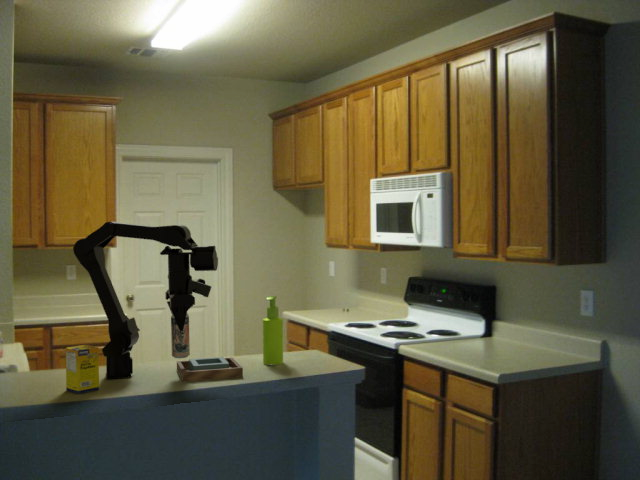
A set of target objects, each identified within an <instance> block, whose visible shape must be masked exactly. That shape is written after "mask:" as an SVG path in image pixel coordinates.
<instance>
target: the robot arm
mask: <svg viewBox="0 0 640 480" xmlns="http://www.w3.org/2000/svg"><path fill="white" fill-rule="evenodd" d="M116 237H118V238H119V237H122V238H130V239H139V240H150V241H155V242H158V243H161V244H164V245H165V247H164V248H163V250H162V251H160V252H159V255H161V256H167V271H168V274H167V279H168V289H167V290H166V291H165V293H164V295H165V300H166V303H167V307H168V308H169V310H170V312H171V313H170V314H172V313H173V316H174V318H175V321H176V323H177V326H178V328H179V330H183V329H184V324H185V319H186V314H188V311H189V310H190V309H191V308H192V307H193V306H195V305H196V297H194V295H193V293H195V294H198V295H201V296H203V297H205V298H209V296H210V292H211V291H212V286H211V285H209V284H206V280H205V279H204V278H203V279H202V278H200V277H199V278H198V279H197V280H195V279H194V280H193V276H192V275H191V274H190V273H191V271H190V270H191V269H190V268H193V270H194V271H195V272H205V271H206V272H210V271H211V272H216V271H218V266H219V257H218V254H217V250H216V249H217V248H216V246H215V245H207V246H199V245H198V244H197V243H196V242H195V240H194V239H193V238H192V233H191V231H190V229H189V228H188V226H186V225H183V224H177V225H176V224H174V225H173V224H172V225H161V226H160V225H159V226H152V225H151V226H150V225H144V224H134V223H133V224H131V223H121V222H117V221H107V222H104V223H103V224H102V225H101V226H100V227H99V228H97V229H95V231H93V232H91V233H90V234H88V235H87V236H86V237H85V238H80V239H78V240H77V241H76V242H75V243H74V245H73V247H72V250H73V251H72V252H73V255H74V256H75V257H76V259H77V262H79V265H81V266H82V267H83V268H84V269H85V270H86V272H87V273H88V275H89V277H90V279H91V282H92V284H93V287H94V289H95V291H96V294H97V297H98V299H99V301H100V304H101V306H102V308H103V311H104V313H105V316H106V318H107V321H108V322H107V324H108V326H107V327H108V337H109V340H110V341H109V342H107V344H106V345H105V346H104V347H102V349H101V351H102V353H103V357H105V358H106V359H105V361H106V363H105V365H106V366H105V367H106V368H105V369H106V370H105V371H106V372H105V378H106V380H110V379H111V380H112V379H123V378H124V379H125V378H132V374H133V373H134V372H133V371H134V370H133V363H134V362H133V357H132V356H131V353H130V352H131V351H132V350H133V347H134V345H136V344H137V343H138V341H139V338H140V334H139V332H140V331H141V329H139V326H138V325H137V322H136V321H137V320H136V319H135V317H128V316H127V315H126V313H125V312H124V310H123V307H122V305H121V303H120V300H119V297H118V295H117V293H116V292H117V291H116V290H115V287H114V285H113V284H112V280H111V278H110V275H109V273H108V270H107V268H106V255H105V250H104V248H106V247H107V246H108V245H110V243H111V242H112V240H113V239H115V238H116ZM171 247H175V248H171ZM176 247H179V248H176ZM168 300H169V301H168Z"/></svg>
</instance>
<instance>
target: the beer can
mask: <svg viewBox="0 0 640 480" xmlns="http://www.w3.org/2000/svg"><path fill="white" fill-rule="evenodd" d="M170 327H171V328H170V329H171V330H170V332H171V333H170V335H171V340H170V341H171V356H172V358H174V359H185V358H188V357H189V356H190V355H191V351H190V350H191V348H190V347H191V346H190V345H191V344H190V315H189V314H188V313H187V314H186V319H185V324H184V329H183V330H179V328H178V326H177V323H176V321H175V318H174V316H173V313H171V316H170Z"/></svg>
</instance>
